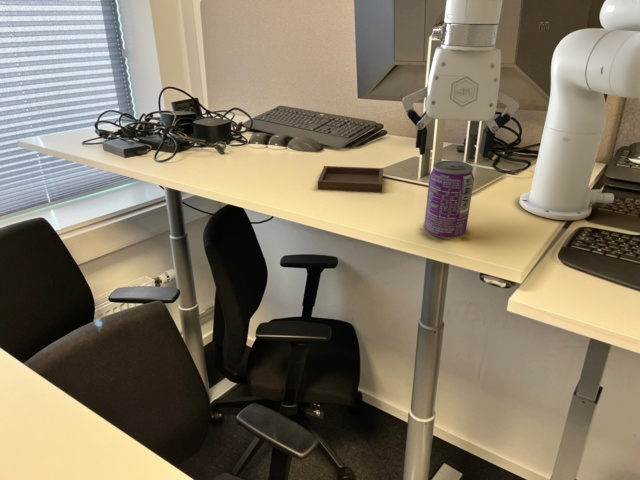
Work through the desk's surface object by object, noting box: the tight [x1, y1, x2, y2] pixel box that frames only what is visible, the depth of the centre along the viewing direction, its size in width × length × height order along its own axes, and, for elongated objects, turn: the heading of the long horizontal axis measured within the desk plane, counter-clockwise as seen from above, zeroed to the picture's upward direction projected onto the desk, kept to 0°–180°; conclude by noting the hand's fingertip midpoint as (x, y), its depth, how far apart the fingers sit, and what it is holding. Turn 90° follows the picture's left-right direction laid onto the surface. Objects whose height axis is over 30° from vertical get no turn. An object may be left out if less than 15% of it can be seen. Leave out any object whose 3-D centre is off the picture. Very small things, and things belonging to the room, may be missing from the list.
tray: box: [317, 165, 384, 193], centre depth 103 cm, size 14×10×2 cm
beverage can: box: [423, 159, 475, 239], centre depth 79 cm, size 7×7×12 cm
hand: (452, 154), depth 75 cm, fingers open, 9 cm apart
